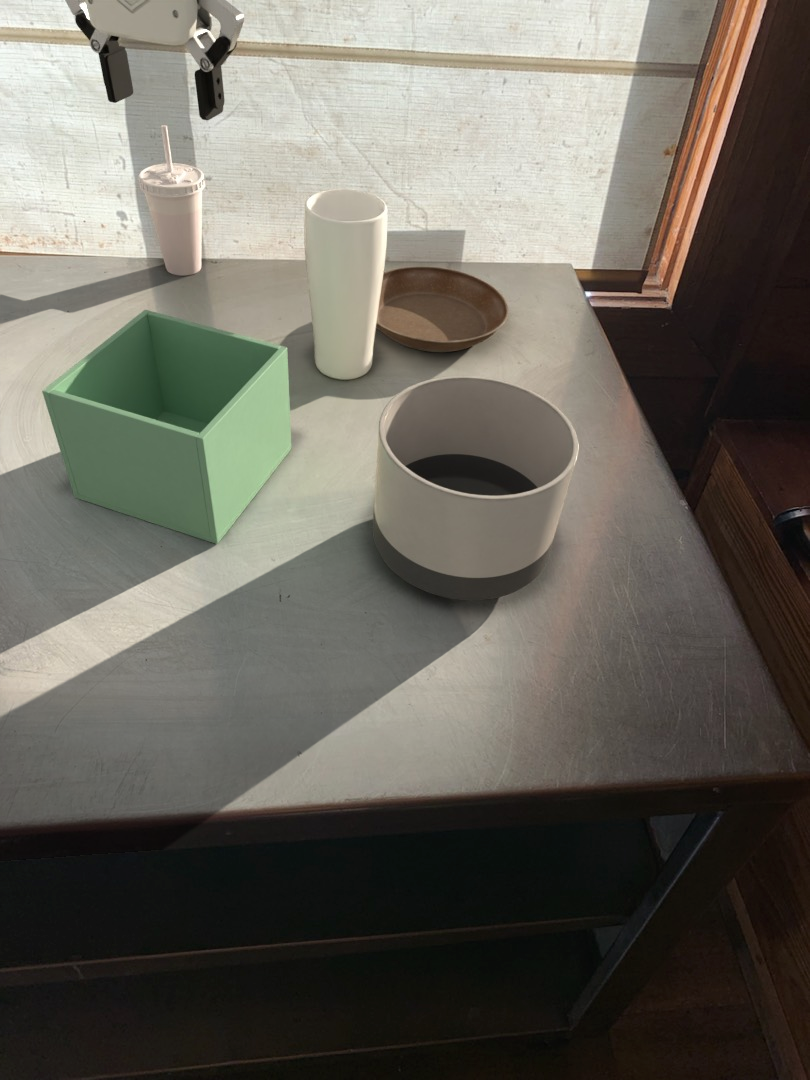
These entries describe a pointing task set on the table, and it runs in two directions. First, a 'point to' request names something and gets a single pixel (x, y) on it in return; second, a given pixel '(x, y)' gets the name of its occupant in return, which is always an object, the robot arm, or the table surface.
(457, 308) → the saucer
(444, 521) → the planter
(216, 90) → the robot arm
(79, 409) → the bin
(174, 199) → the smoothie
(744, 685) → the table surface
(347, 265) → the white cup
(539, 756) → the table surface
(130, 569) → the table surface
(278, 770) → the table surface
